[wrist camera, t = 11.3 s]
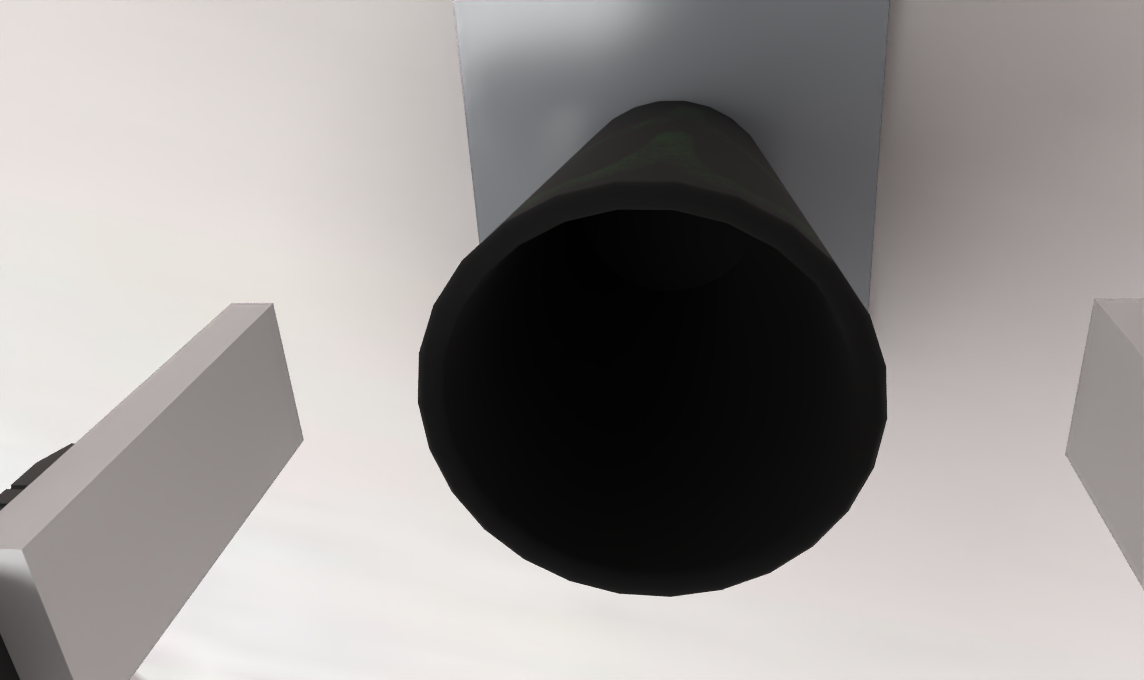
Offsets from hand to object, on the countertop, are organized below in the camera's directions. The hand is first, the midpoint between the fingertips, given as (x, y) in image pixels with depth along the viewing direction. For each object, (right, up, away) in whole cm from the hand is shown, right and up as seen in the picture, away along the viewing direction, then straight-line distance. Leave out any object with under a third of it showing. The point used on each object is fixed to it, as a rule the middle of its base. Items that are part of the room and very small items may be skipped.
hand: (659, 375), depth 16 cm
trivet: (+1, +5, +12) cm, 13 cm away
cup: (+1, +4, +11) cm, 12 cm away
